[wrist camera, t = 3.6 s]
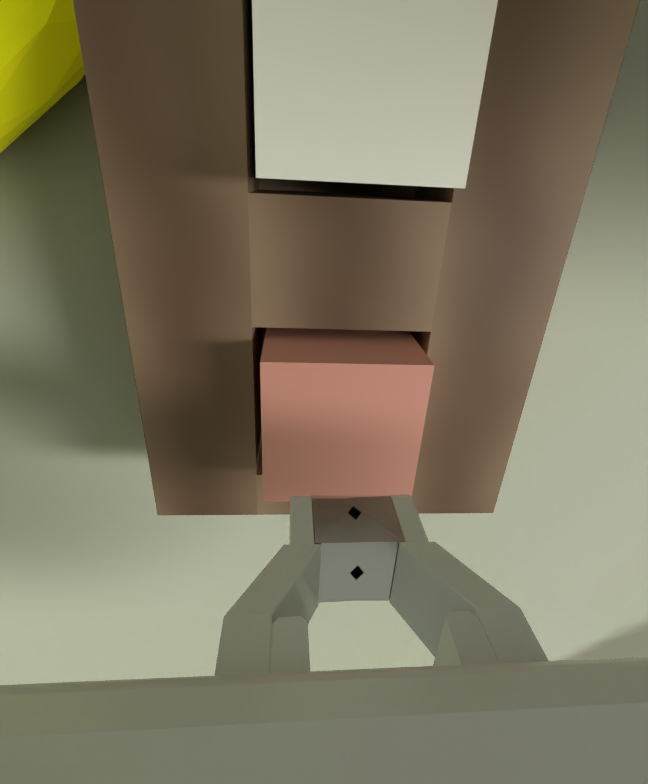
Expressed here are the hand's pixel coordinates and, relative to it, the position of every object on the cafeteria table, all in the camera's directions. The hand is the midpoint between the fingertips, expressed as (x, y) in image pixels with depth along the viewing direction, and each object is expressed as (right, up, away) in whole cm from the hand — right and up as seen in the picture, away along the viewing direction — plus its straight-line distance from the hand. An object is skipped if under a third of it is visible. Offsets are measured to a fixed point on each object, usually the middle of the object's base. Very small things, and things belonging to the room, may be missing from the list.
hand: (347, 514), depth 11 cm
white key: (0, +12, +2) cm, 13 cm away
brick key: (0, +3, +7) cm, 7 cm away
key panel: (0, +9, +7) cm, 12 cm away
